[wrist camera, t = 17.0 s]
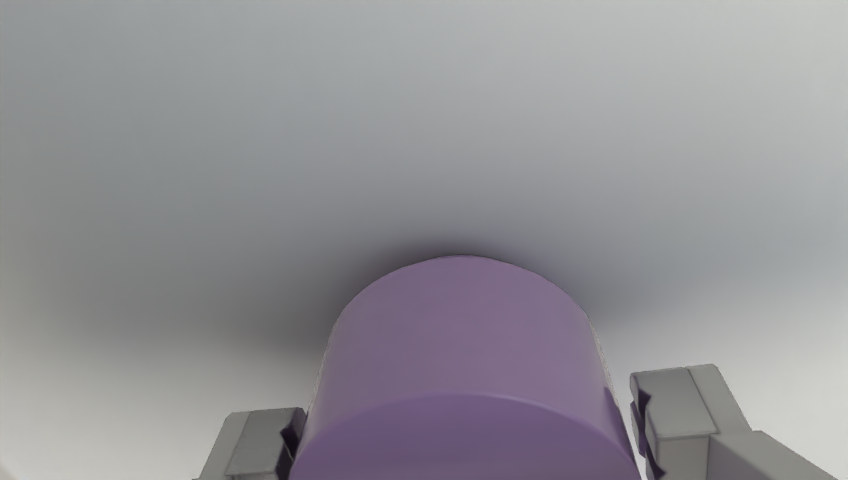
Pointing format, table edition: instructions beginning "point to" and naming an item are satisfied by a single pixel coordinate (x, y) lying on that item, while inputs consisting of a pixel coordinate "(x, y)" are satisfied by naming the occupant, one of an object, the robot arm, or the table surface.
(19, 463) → the table surface
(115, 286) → the table surface
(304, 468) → the lilac cylinder puck
